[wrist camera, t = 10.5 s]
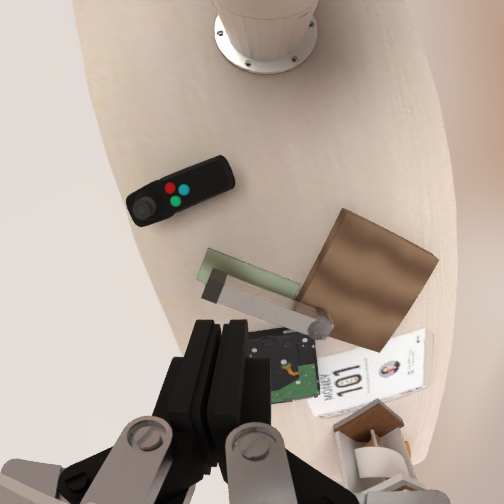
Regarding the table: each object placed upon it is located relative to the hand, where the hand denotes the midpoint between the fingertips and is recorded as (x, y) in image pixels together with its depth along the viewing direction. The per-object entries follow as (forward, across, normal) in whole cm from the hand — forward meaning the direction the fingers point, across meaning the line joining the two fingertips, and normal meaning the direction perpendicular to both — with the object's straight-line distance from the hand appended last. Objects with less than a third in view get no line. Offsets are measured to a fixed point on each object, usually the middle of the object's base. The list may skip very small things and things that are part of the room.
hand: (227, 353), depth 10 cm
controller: (+31, +8, -1) cm, 32 cm away
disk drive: (+31, -3, +28) cm, 42 cm away
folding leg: (+27, -1, +15) cm, 31 cm away
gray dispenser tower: (+30, -21, +47) cm, 60 cm away
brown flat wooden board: (+31, -8, +11) cm, 34 cm away
